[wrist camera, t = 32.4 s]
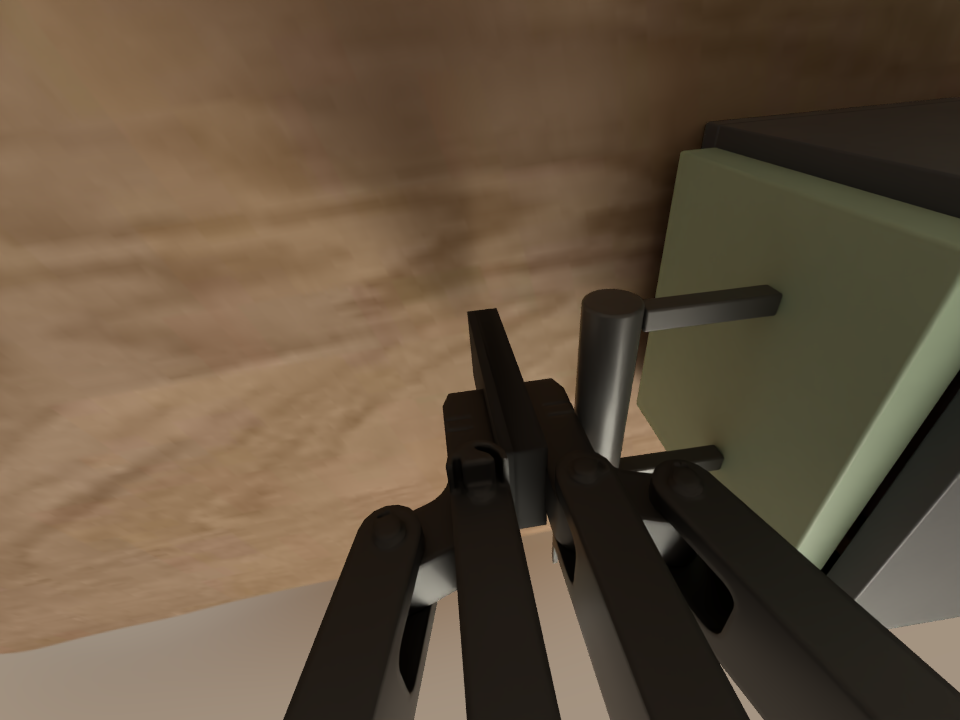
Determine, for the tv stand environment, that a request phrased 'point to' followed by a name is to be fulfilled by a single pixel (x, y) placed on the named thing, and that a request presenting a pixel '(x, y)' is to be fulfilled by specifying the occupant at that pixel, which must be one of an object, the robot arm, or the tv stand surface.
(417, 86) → the tv stand surface
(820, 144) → the cabinet
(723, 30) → the tv stand surface
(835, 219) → the drawer
